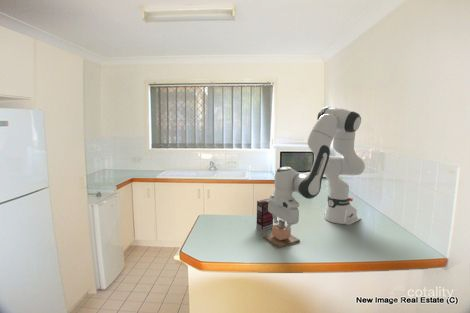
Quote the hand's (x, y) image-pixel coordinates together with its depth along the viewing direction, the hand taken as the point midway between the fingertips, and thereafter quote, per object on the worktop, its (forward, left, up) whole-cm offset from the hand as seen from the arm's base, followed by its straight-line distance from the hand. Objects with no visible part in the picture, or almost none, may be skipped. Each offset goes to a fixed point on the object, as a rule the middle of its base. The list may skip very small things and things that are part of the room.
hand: (281, 226), depth 135 cm
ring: (0, 0, -5) cm, 5 cm away
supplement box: (-1, -16, -8) cm, 18 cm away
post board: (0, 0, -7) cm, 7 cm away
